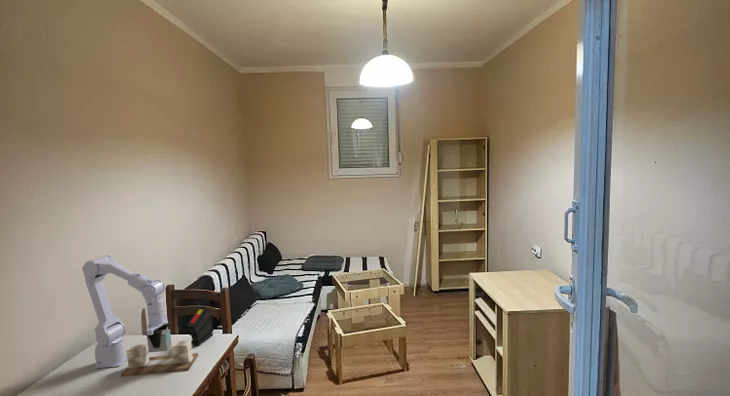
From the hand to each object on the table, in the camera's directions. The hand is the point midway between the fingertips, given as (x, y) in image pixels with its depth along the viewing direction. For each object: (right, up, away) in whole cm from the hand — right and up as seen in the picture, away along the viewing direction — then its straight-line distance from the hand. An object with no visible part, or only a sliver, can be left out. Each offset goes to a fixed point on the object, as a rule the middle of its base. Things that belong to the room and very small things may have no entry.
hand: (159, 344), depth 163 cm
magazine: (+9, -6, +21) cm, 23 cm away
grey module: (0, -2, 0) cm, 2 cm away
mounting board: (0, -9, +1) cm, 9 cm away
